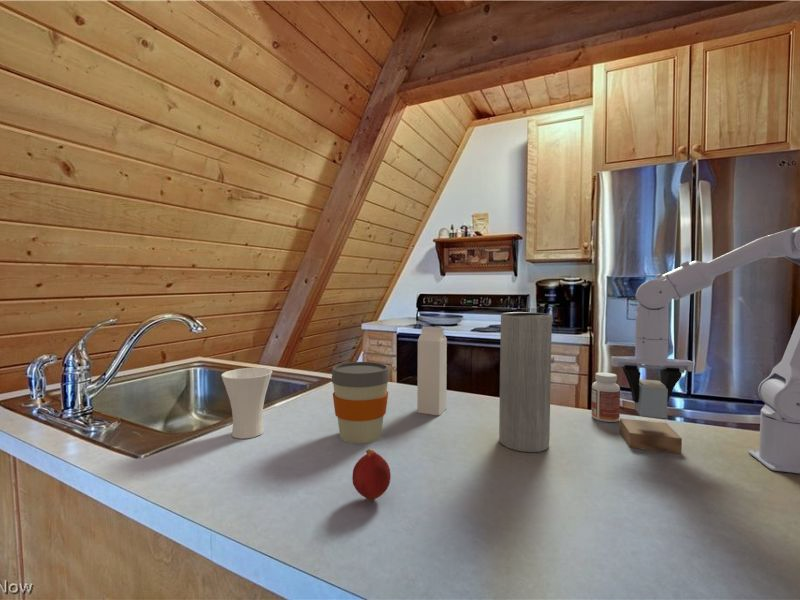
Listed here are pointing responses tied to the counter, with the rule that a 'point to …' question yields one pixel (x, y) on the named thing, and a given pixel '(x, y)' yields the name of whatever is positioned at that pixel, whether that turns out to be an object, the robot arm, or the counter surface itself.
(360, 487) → the onion
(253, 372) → the cup
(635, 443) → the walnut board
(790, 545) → the counter surface
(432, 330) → the milk
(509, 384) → the vase
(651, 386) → the blue block cream face
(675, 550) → the counter surface
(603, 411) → the pill bottle
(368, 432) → the reusable coffee cup
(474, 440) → the counter surface
